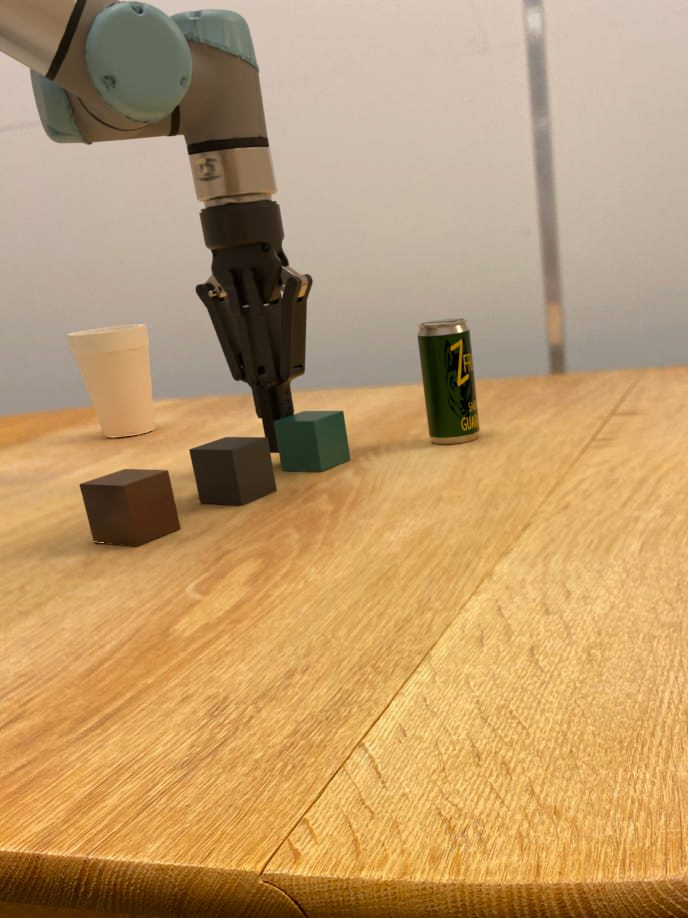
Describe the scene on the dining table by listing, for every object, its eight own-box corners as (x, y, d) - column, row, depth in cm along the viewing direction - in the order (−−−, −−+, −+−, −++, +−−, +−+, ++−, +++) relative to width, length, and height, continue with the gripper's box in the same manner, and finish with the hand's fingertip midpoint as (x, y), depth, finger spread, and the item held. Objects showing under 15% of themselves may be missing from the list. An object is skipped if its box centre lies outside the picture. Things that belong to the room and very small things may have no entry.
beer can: (421, 445, 111) (407, 327, 106) (441, 434, 115) (428, 320, 111) (469, 444, 109) (456, 323, 104) (487, 433, 113) (476, 316, 109)
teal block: (281, 470, 106) (273, 421, 105) (311, 458, 110) (303, 410, 109) (321, 472, 104) (313, 421, 102) (350, 459, 108) (343, 410, 106)
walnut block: (93, 543, 87) (79, 483, 86) (138, 525, 91) (124, 468, 90) (137, 546, 85) (123, 485, 83) (180, 528, 89) (168, 469, 87)
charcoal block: (199, 503, 97) (188, 449, 95) (235, 489, 101) (226, 436, 99) (242, 505, 94) (231, 449, 93) (277, 490, 98) (267, 437, 97)
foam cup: (135, 440, 132) (111, 332, 127) (77, 442, 135) (51, 337, 130) (181, 424, 140) (160, 322, 135) (124, 426, 143) (102, 326, 138)
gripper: (159, 210, 100) (209, 457, 109) (266, 196, 94) (310, 459, 103) (213, 206, 106) (256, 440, 115) (317, 193, 100) (354, 441, 109)
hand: (281, 449), depth 109 cm, fingers closed
